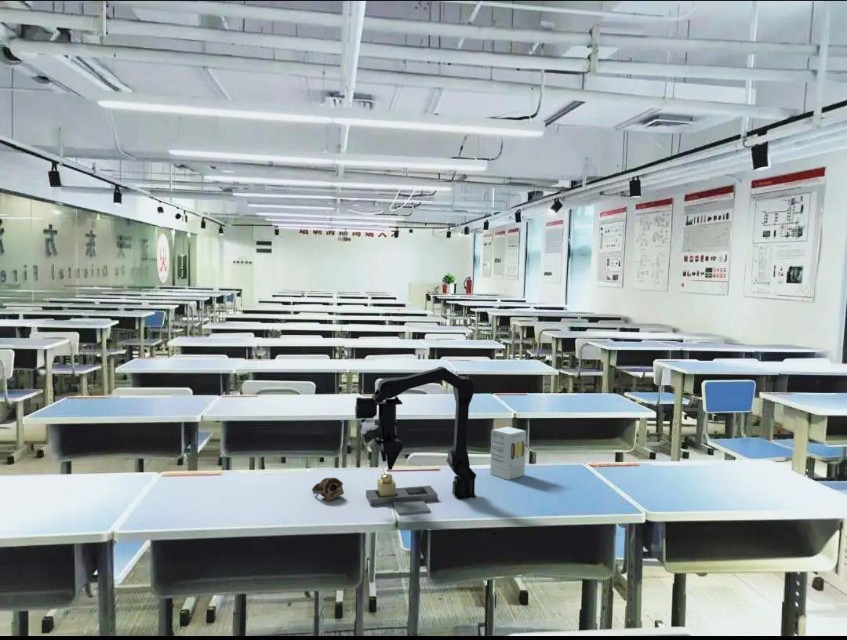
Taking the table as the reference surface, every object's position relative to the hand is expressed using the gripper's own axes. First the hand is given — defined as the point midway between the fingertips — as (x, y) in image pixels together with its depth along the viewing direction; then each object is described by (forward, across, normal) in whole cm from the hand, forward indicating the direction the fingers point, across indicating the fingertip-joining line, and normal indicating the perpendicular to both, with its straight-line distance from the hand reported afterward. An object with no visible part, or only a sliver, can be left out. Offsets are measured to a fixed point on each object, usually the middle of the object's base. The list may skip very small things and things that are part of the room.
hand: (387, 465), depth 204 cm
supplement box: (+12, -16, +49) cm, 53 cm away
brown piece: (+12, -8, -18) cm, 23 cm away
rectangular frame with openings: (+11, 0, +5) cm, 12 cm away
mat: (+11, +9, +6) cm, 16 cm away
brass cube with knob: (+11, 0, 0) cm, 11 cm away
